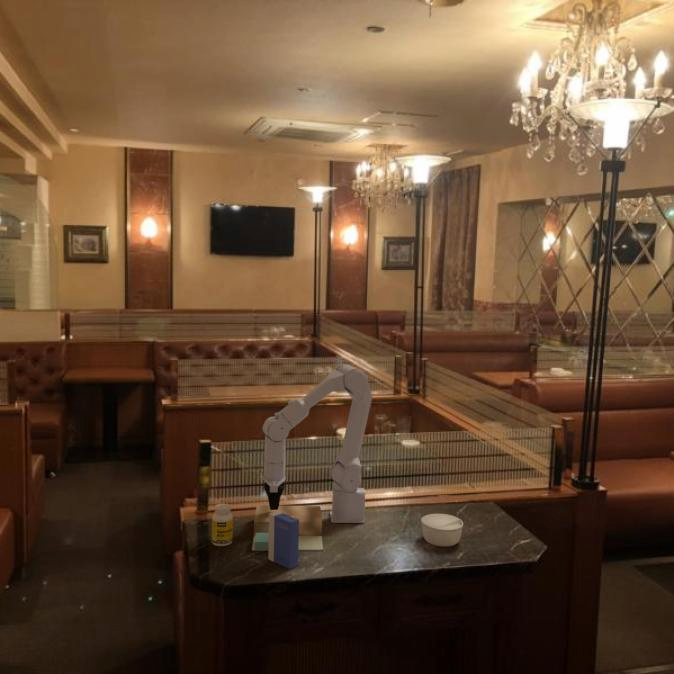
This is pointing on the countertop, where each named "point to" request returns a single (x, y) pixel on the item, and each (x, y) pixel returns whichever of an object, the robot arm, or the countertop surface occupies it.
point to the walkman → (283, 539)
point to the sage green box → (262, 541)
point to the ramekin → (441, 529)
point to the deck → (306, 514)
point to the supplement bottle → (222, 525)
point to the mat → (304, 543)
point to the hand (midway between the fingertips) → (274, 509)
